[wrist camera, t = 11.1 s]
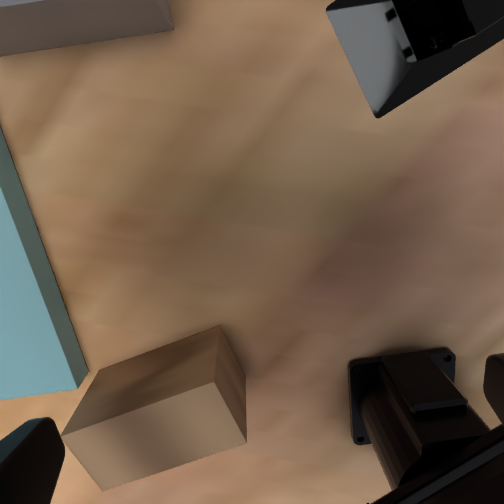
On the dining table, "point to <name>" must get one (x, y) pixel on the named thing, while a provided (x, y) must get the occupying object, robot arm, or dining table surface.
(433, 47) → the black angular block
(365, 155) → the dining table surface
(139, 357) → the walnut brick
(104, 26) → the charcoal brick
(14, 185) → the teal board
